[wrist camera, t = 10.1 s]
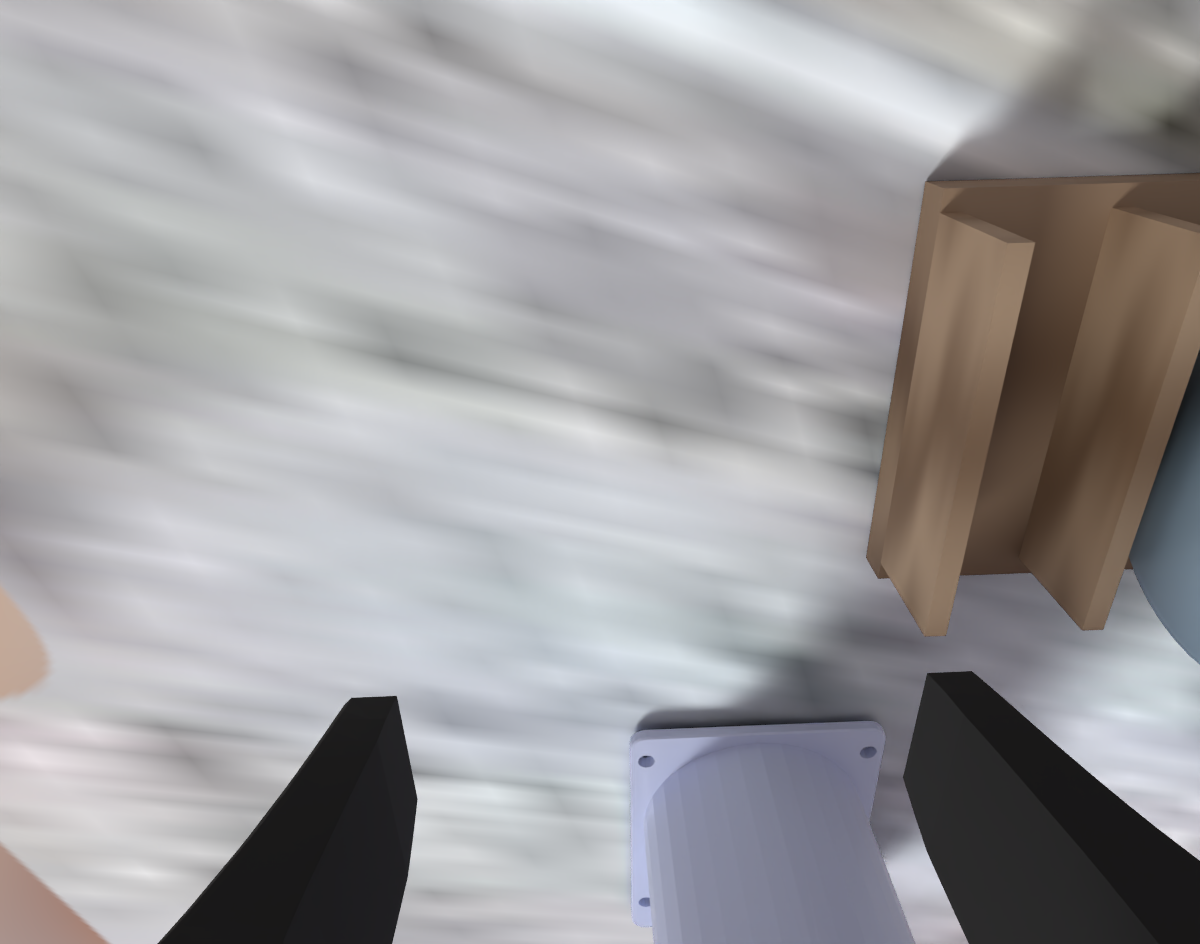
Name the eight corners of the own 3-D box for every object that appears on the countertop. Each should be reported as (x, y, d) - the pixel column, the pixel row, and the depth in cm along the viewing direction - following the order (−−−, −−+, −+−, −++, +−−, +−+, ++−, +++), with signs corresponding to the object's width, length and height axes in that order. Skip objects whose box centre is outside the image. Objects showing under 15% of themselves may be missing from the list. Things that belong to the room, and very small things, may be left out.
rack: (1275, 542, 22) (1405, 634, 19) (865, 557, 22) (920, 653, 19) (1441, 165, 18) (1656, 194, 14) (925, 181, 18) (1013, 214, 14)
